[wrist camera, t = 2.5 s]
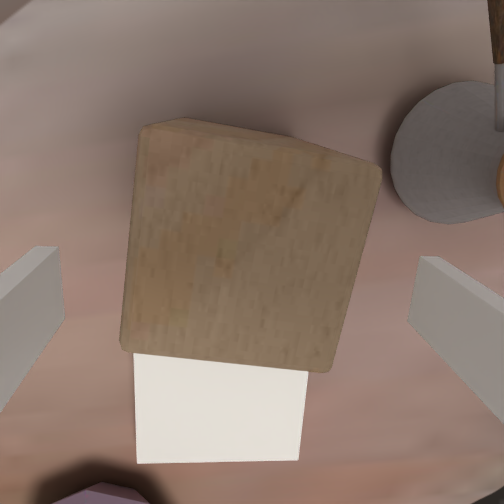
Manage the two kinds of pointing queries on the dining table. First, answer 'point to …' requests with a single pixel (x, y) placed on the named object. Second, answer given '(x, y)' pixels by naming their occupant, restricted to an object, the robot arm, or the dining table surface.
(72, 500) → the flask
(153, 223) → the wooden block
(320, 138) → the dining table surface
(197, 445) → the white square plate
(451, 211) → the coffee pot
